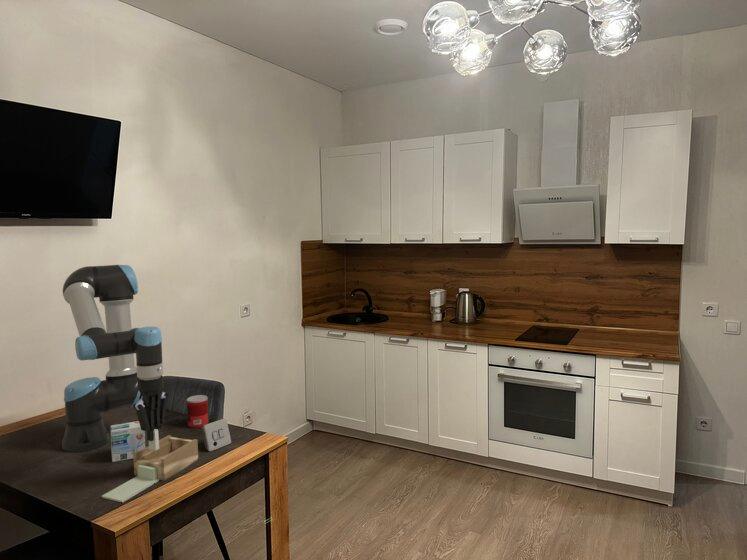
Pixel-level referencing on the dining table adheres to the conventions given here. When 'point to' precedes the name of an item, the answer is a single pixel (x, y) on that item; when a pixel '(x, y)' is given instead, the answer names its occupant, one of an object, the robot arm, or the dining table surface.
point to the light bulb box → (126, 440)
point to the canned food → (197, 411)
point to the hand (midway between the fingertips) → (154, 449)
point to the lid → (134, 484)
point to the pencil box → (168, 456)
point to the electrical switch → (216, 434)
